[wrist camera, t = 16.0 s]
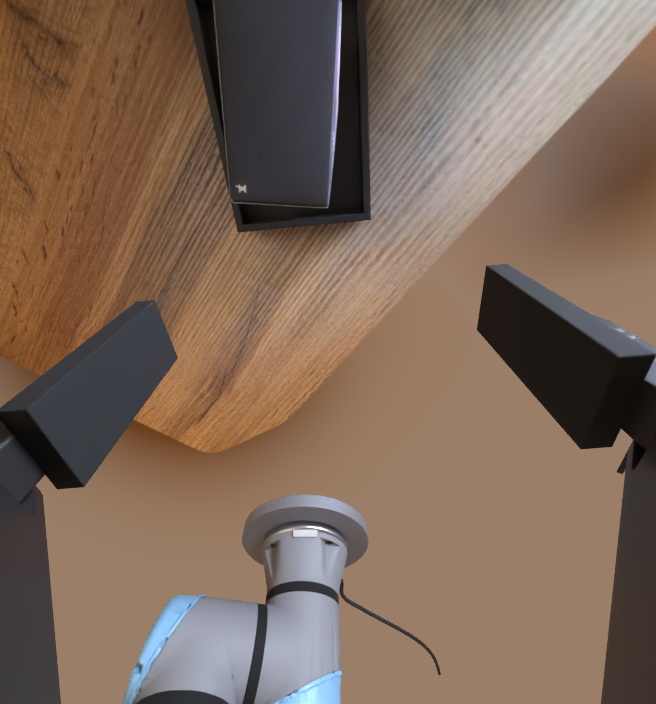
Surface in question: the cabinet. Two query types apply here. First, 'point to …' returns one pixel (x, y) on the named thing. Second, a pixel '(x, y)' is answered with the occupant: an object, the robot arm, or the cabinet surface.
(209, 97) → the tray
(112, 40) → the cabinet surface
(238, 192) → the small box
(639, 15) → the cabinet surface
